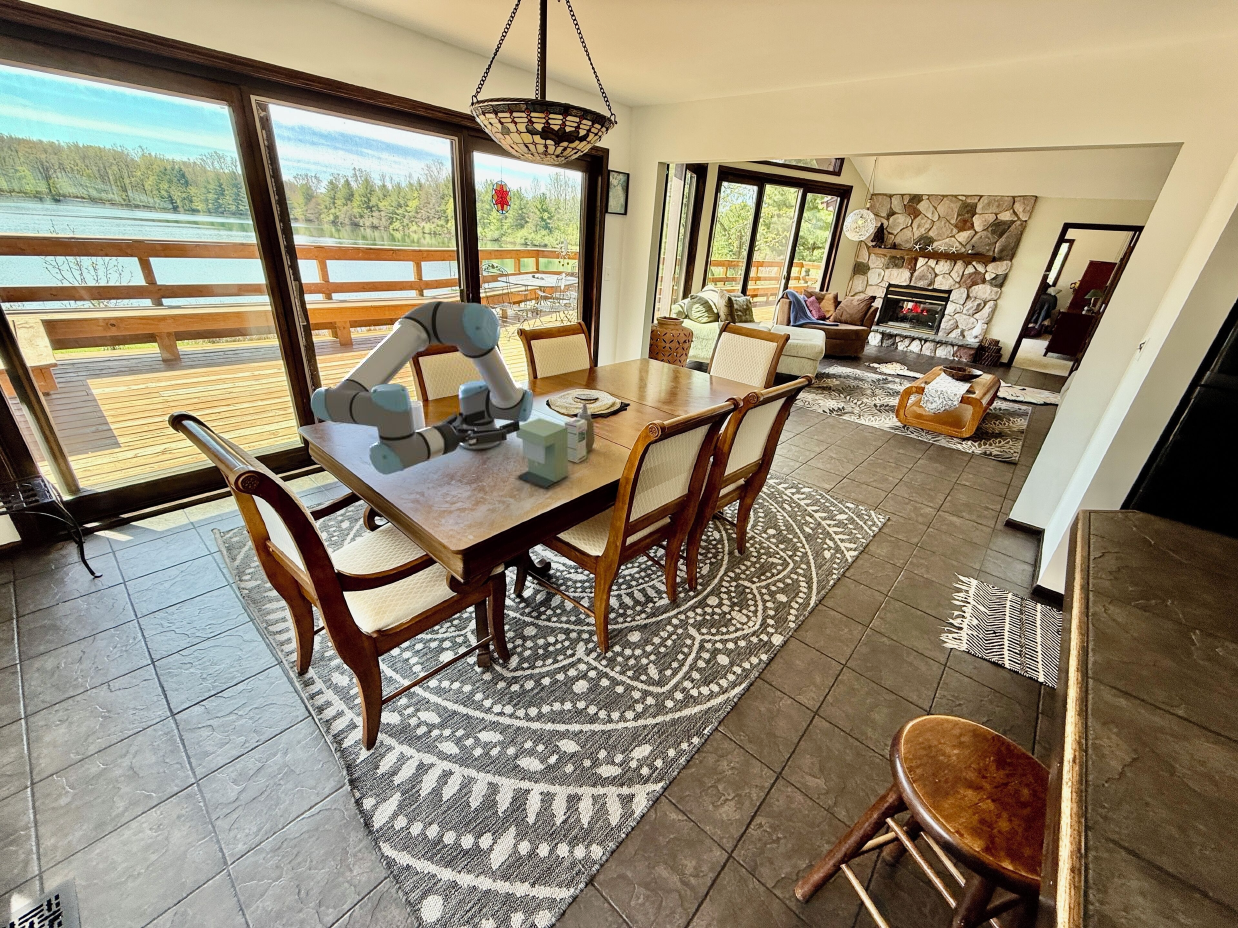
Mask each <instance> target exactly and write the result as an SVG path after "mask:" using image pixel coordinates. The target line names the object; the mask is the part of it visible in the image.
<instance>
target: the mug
mask: <svg viewBox="0 0 1238 928" xmlns="http://www.w3.org/2000/svg"><path fill="white" fill-rule="evenodd" d="M410 401H411V404H412V414H413V422H414V430H415V431H418V430H421V429H424V428H426V420H425V413H424V407H423V402H422V401H421V400H410Z"/></svg>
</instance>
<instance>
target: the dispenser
mask: <svg viewBox="0 0 1238 928" xmlns="http://www.w3.org/2000/svg"><path fill="white" fill-rule="evenodd" d="M519 426H520V430H518V431H516V432H515V435H516V438H518V439H521V440H522V439H523V440H526V441H529V442H532V443H534V444H537V445H540V446H543V447H545V460H546V463H545V464H542V463H539V462H537V461H534V460H531V459H529V458H527V471H525V472H523V473H521V474H519V475H518V479H519V480H521V481H524V482H526V483H529V484H531V485H534V486H536V487H538V488H541V489H543V490H548V489H550V488H552V487H553V486H555V485H557V484H559V483H561V482H563V481H564V480H567V479H568V478H569V475H568V473H569V472H568V470H569V469H568V467H569V466H568V462H569V460H568V427H566V426H565V425H564V424H563V425H562V424H559V423H556V422H553V421H550V420H547V419H544V418H540V417H539V418H536V419H533V420H530V421H527V422H524V423H523V424H519Z"/></svg>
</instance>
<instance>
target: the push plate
mask: <svg viewBox="0 0 1238 928" xmlns="http://www.w3.org/2000/svg"><path fill="white" fill-rule="evenodd" d="M521 440H522V441H521V443H522V444H521V445H522V457H524V458H527V459H528V458H529V459H531V460H534V461H537V462H539V463H542V464H545V463H546V460H545V447H543V446H540V445H537V444H534V443H532V442H529V441H526V440H523V439H521Z"/></svg>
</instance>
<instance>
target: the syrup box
mask: <svg viewBox="0 0 1238 928" xmlns="http://www.w3.org/2000/svg"><path fill="white" fill-rule="evenodd" d="M564 426H566V427H568V461H570V462H574V463H576V464H579V463H580V462H581V461H583V460H585V459H587V458H588V452H587V420H584V419H581V418H578V417H575V416H574V417H573V418H571V419H568V420H566V421H564Z"/></svg>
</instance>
